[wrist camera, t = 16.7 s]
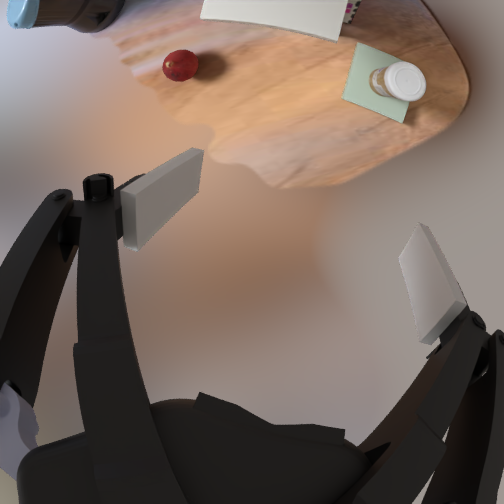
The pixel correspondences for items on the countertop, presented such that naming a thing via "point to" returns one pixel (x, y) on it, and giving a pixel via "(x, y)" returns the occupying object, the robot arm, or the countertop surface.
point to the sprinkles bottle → (398, 81)
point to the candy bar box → (351, 10)
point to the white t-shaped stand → (281, 15)
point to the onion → (180, 65)
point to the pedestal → (360, 89)
